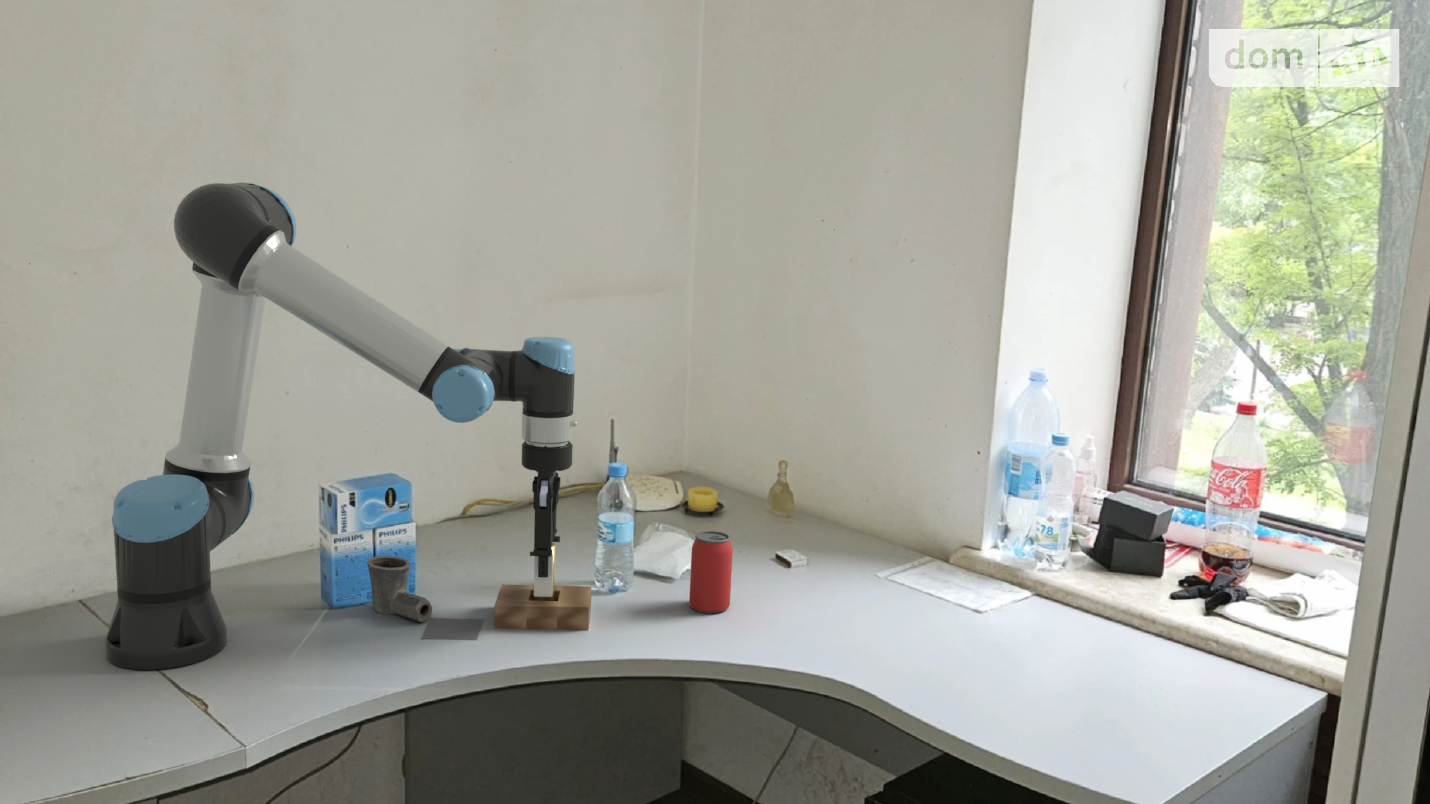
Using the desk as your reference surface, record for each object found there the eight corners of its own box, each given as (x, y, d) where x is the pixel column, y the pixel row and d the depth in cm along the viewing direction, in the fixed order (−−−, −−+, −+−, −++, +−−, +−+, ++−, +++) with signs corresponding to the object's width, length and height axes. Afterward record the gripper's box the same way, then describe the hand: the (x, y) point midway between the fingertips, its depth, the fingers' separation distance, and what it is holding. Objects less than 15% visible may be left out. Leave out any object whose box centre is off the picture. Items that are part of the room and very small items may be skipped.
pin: (533, 623, 172) (534, 547, 170) (534, 616, 175) (536, 542, 173) (552, 623, 172) (554, 548, 170) (554, 616, 175) (556, 542, 173)
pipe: (409, 631, 167) (409, 580, 166) (357, 609, 175) (356, 560, 173) (442, 620, 172) (442, 570, 170) (389, 599, 179) (389, 551, 178)
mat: (420, 641, 164) (420, 638, 164) (430, 620, 171) (430, 618, 171) (476, 642, 164) (476, 639, 164) (483, 621, 172) (483, 619, 172)
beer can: (729, 615, 179) (733, 543, 177) (688, 613, 179) (691, 541, 177) (729, 601, 186) (733, 531, 183) (690, 598, 186) (693, 528, 183)
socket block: (494, 630, 169) (494, 605, 168) (501, 608, 178) (501, 584, 177) (588, 632, 170) (588, 607, 169) (590, 610, 179) (591, 586, 178)
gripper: (569, 455, 160) (565, 611, 164) (575, 429, 177) (572, 571, 182) (515, 454, 160) (513, 610, 164) (527, 428, 177) (525, 570, 181)
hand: (544, 589), depth 173 cm, fingers open, 4 cm apart
